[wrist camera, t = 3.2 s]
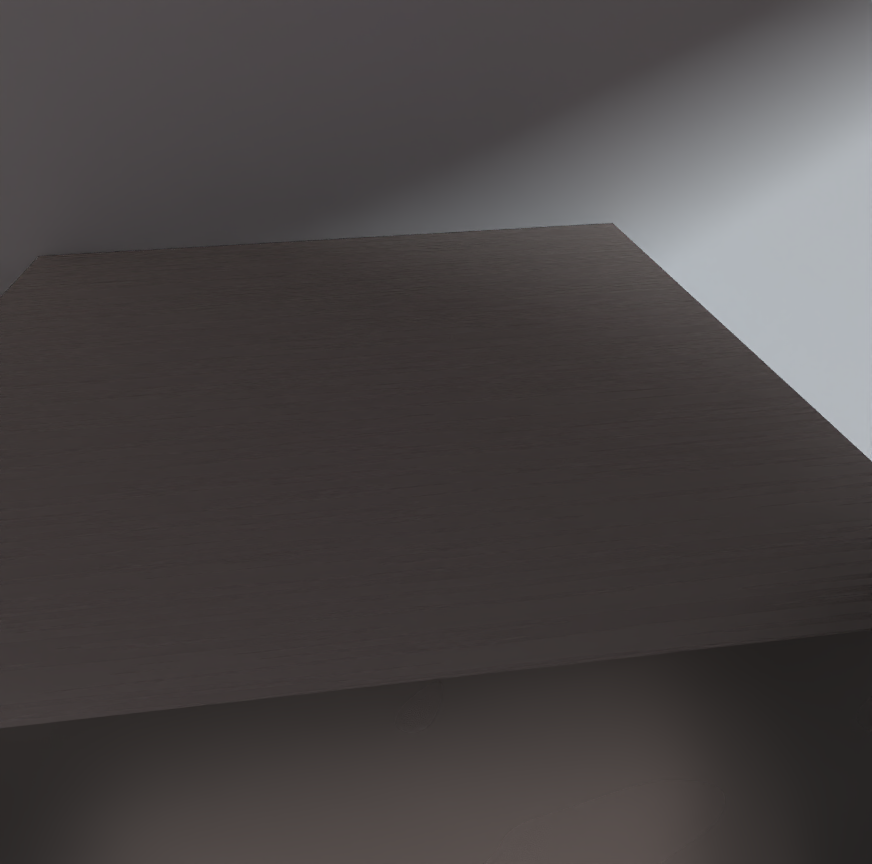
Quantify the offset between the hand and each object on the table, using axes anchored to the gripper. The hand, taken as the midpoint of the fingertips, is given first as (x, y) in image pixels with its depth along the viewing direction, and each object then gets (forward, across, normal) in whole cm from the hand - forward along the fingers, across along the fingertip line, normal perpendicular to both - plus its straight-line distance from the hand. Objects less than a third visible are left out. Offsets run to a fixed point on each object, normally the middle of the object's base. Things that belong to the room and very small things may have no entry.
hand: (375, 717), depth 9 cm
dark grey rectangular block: (+1, 0, 0) cm, 1 cm away
